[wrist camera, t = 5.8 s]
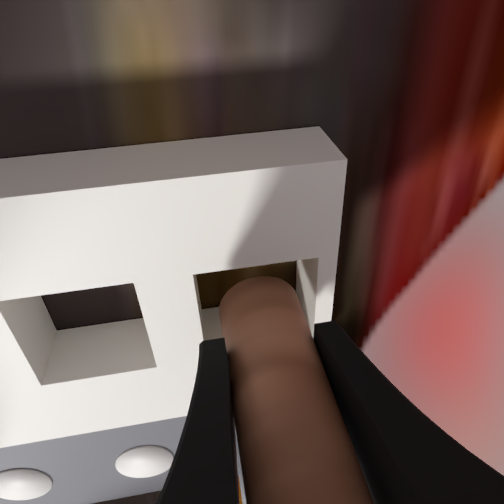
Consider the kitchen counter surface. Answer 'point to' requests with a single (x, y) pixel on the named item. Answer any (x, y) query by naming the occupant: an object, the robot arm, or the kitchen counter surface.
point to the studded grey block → (93, 465)
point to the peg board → (149, 265)
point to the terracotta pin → (285, 402)
